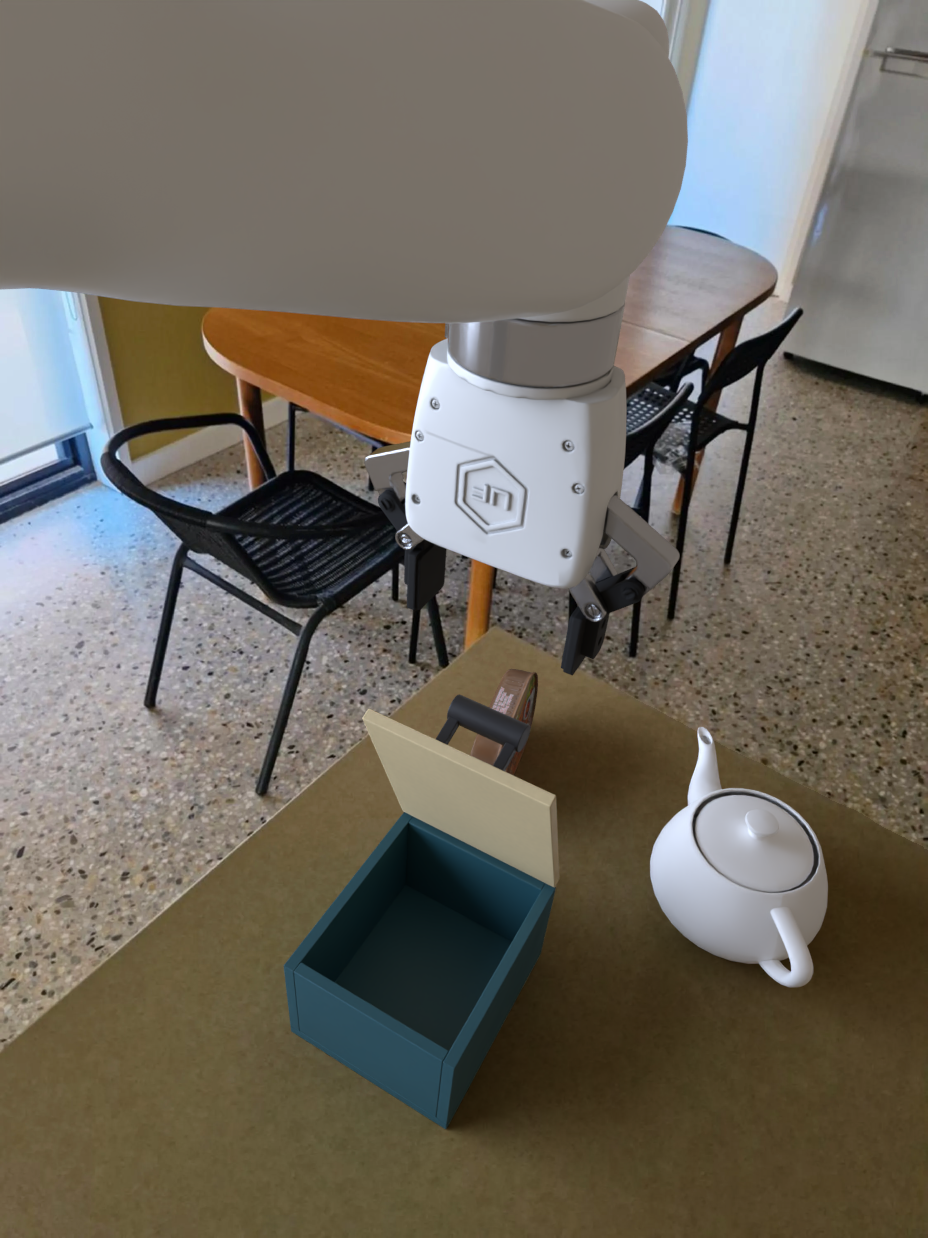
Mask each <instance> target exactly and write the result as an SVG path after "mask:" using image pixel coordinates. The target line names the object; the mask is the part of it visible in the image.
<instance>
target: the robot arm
mask: <svg viewBox="0 0 928 1238" xmlns="http://www.w3.org/2000/svg"><path fill="white" fill-rule="evenodd" d="M669 56H670V39H669V33H668V29H667V26H666V23H665V21H664V18H663V17H662V16H661V14H660V13H659V12H658V10H657V9H655V8H654V7H652V6H651V5H650V4H648V3H647V2H644V1H642V0H0V290H22V289H35V290H37V289H38V290H49V291H58V292H68V293H77V294H83V295H90V296H97V297H104V298H110V299H115V300H116V299H117V300H122V301H123V300H124V301H129V302H135V303H136V302H137V303H148V304H156V305H157V304H158V305H167V306H177V307H198V308H199V307H200V308H219V309H220V308H221V309H236V310H249V311H250V310H251V311H262V312H263V311H264V312H279V313H289V314H301V315H311V316H313V315H314V316H323V317H335V318H347V319H355V320H357V319H358V320H370V321H383V322H384V321H385V322H396V323H422V324H445V325H444V338H445V339H443V340H441V341H439V342H437V343H435V344H434V345H433V346H432V347H431V349H430V352H429V354H428V357H427V362H426V365H425V368H424V373H423V375H422V380H421V384H420V389H419V393H418V398H417V401H416V402H417V403H416V408H415V412H414V418H413V424H412V429H411V437H410V440H409V441H404V442H399V443H394V444H391V445H385V446H381V447H378V448H377V449H375V450H374V451H373V452H372V453H370V454H368V455H367V456H366V457H365V458H364V461H363V462H364V464H363V465H364V467H365V469H366V471H367V474H368V477H369V478H370V481H371V483H372V486H373V488H374V490H375V491H377V494H378V497H377V504H378V506H379V508H380V510H382V512H383V513H384V515H385V516H386V518H387V519H388V521H389V522H390V523H391V524H392V526H393V527H394V528H395V531H396V532H395V535H394V537H395V542H396V543H397V545H398V546H399V547H400V548H402V549H403V550H404V571H403V574H404V575H403V583H404V584H405V585H406V587H407V588H406V608H407V609H409V610H411V611H414V612H417V611H420V610H422V609H423V608H424V607H425V606H426V605H427V604H428V603H429V602H430V601H431V600H432V599H433V598H434V597H435V596H436V595H437V594H438V593H439V592H440V591H441V590H442V589H443V587H444V585H445V579H446V564H447V550H449V551H451V552H454V553H456V554H459V555H462V556H464V557H467V558H469V559H472V560H475V561H477V562H480V563H482V564H486V565H487V566H490V567H492V568H496V569H499V570H501V571H504V572H507V573H509V574H512V575H515V576H517V577H520V578H523V579H526V580H528V581H530V582H533V583H536V584H539V585H542V586H545V587H549V588H555V589H561V590H563V589H565V590H566V589H568V591H569V593H570V594H571V596H572V598H573V599H574V602H576V605H577V607H576V608H575V609H574V611H573V612H572V613H571V615H570V617H569V619H568V624H567V630H566V637H565V641H564V647H563V654H562V658H561V664H560V669H562V672H563V673H565V674H567V675H570V676H573V675H574V674H575V673H576V672H577V670H578V669H579V667H580V666H581V664H582V663H583V662H584V660H585V659H586V658H589V659H591V660H595V659H596V657H597V655H598V654H599V652H600V651H601V649H602V646H603V644H604V641H605V637H606V633H607V632H606V631H607V627H608V623H609V619H610V615H611V613H613V612H616V611H620V610H622V609H625V608H628V607H629V606H632V605H634V604H637V603H639V602H641V600H642V598H643V597H644V596H645V595H646V594H648V593H649V592H650V591H652V590H654V588H655V587H656V586H658V584H660V583H661V582H662V581H663V580H664V579H665V578H666V577H667V576H669V575H670V574H671V572H672V571H673V569H674V567H675V566H676V564H677V563H678V561H679V560H680V552H679V550H678V549H677V548H676V547H675V546H674V545H673V544H672V543H671V542H670V541H668V540H667V538H665V537H664V536H663V535H662V534H661V533H659V531H657V530H656V529H655V528H653V526H651V525H650V524H649V523H648V522H647V521H646V520H645V519H644V518H643V517H641V516H640V514H638V513H637V512H636V511H635V510H634V509H633V508H631V506H629V505H628V504H627V503H626V502H625V501H623V499H621V496H622V495H621V494H622V489H623V488H622V486H623V478H624V470H625V459H626V446H627V445H626V444H627V410H628V409H627V408H628V407H627V384H626V374H625V371H624V370H623V369H622V368H620V367H618V366H616V365H615V362H616V357H617V351H618V345H619V340H620V333H621V329H622V324H623V323H622V322H623V317H624V312H625V306H626V299H627V293H628V289H629V283H630V277H631V275H632V274H633V273H634V272H635V271H636V270H637V269H638V268H639V267H640V265H641V264H642V263H643V262H644V261H645V259H646V258H647V257H648V256H649V255H650V253H651V252H652V250H653V249H654V247H655V246H656V244H657V243H658V241H659V239H660V238H661V236H662V235H663V234H664V232H665V229H666V227H667V226H668V223H669V221H670V219H671V216H672V215H673V213H674V209H675V207H676V204H677V201H678V198H679V196H680V194H681V193H680V192H681V190H682V184H683V181H684V176H685V171H686V166H687V158H688V157H687V156H688V146H689V145H688V144H689V134H688V131H689V130H688V114H687V109H686V104H685V99H684V92H683V89H682V86H681V83H680V81H679V78H678V75H677V72H676V69H675V67H674V65H673V63H672V61H671V60H670V58H669ZM403 473H406V482H405V481H404V479H405V477H404V475H403ZM612 541H613V542H614V543H616V544H617V545H618V546H619V547H620V548H621V549H623V550H624V551H625V552H626V553H627V554H628V555H629V556H630V557H631V558H633V560H634V561H635V562H636V566H634V567H632V568H629V569H626V570H625V571H622V572H620V573H618V571H617V569H616V567H615V566H614V563H613V561H612V560H611V559H610V557H609V555H608V553H607V551H606V549H607V548H608V547H609V546H610V543H611V542H612Z"/></svg>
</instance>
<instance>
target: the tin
mask: <svg viewBox="0 0 928 1238" xmlns="http://www.w3.org/2000/svg"><path fill="white" fill-rule="evenodd" d="M538 692H539V675H538V672H536V671H533V672H531V671H528V670H527V671H526V670H522V669H517V668H509V669H508V670H507V671H505V673H504V674H503V676H502V677H501V680H500V682H499V684H498V686H497V688H496V690H495V692H494V695H493V697H492V698H491V701H490V703H489V705H488V707H490V708H492V709H494V710H496V711H499V712H501V713H503V714H505V715H508V716H510V717H512V718H515V719H517V720H519V721H521V722H524V723H526V724H528V725H530V727H531V728H530V731H531V729H532V726H533V721H534V716H535V711H536V706H537V699H538ZM528 739H529V738H528ZM528 739H527V742H526V744H525V746H524V747H523V749H522V750H521V751H520V752H515V754H514V756H513V758H512V760H511V761H510V763H509V765H508V767H507V769H506V770H505V772H507V773H509V774H511V775H513V776H515V774H516V771H517V769H518V767H519V764H520V761H521V758H522V756H523V754H524V751H525V748H526V746H527V743H528ZM502 748H503V745H501V744H499V743H497V742H494V741H492V740H490V739H488V738H486V737H483V736H481V735H479V734H477V733H476V735H475V738H474V740H473V744H472V747H471V751H470V754H469V755H470V756H473V757H475V758H477V759H479V760H481V761H483V762H485V763H488V764H490V765H492V766H493V764H494V762H495V761H496V759H497V757H498V755H499V754H500V752H501V750H502Z"/></svg>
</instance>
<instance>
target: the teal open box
mask: <svg viewBox="0 0 928 1238" xmlns="http://www.w3.org/2000/svg"><path fill="white" fill-rule="evenodd" d="M556 890H557V886H556V887H555V888H554V887H552V886H550V885H548V884H546V883H544V882H542V881H540V880H538V879H536V878H534V877H532V876H530V875H528V874H526V873H524V872H522V871H520V870H518V869H516V868H514V867H512V866H510V865H508V864H506V863H504V862H502V861H500V860H498V859H496V858H494V857H493V856H491V855H489V854H487V853H485V852H483V851H481V850H479V849H477V848H475V847H473V846H471V845H469V844H467V843H465V842H463V841H461V840H459V839H457V838H455V837H453V836H451V835H449V834H447V833H445V832H443V831H441V830H439V829H437V828H435V827H433V826H431V825H429V824H427V823H425V822H423V821H421V820H419V819H417V818H415V817H413V816H411V815H409V814H407V813H405V812H402V814H401V815H400V816H399V818H398V819H397V820H396V821H395V822H394V823H393V825H392V826H391V828H390V829H389V830H388V832H387V833H386V834H385V836H384V837H383V838H382V839H381V840H380V841H379V843H378V844H377V846H375V848H374V849H373V851H372V852H371V853H370V855H369V856H368V857H367V858H366V860H365V861H364V862H363V864H362V865H361V866H360V868H358V870H357V871H356V872H355V874H354V875H353V876H352V878H351V879H350V880H349V881H348V882H347V884H346V885H345V886H344V887H343V889H342V890H341V892H340V893H339V894H338V896H337V897H336V898H335V899H334V901H333V902H331V904H330V906H329V907H328V908H327V910H326V911H324V913H323V914H322V916H321V917H320V918H319V920H318V921H317V922H316V923H315V925H314V926H313V927H312V929H311V930H310V931H309V932H308V933H307V935H306V936H305V937H304V939H303V940H302V941H301V943H300V944H299V945H298V946H297V948H296V949H295V950H294V951H293V953H292V954H291V955H290V956H289V958H288V959H287V960H286V962H284V964H283V973H284V982H285V990H286V999H287V1006H288V1016H289V1024H290V1032H292V1033H293V1034H295V1035H296V1036H298V1037H300V1038H301V1039H302V1040H304V1041H306V1042H307V1043H309V1044H311V1045H312V1046H314V1047H315V1048H317V1049H319V1050H320V1051H321V1052H323V1053H324V1054H326V1055H328V1056H330V1057H331V1058H332V1059H334V1060H335V1061H337V1062H339V1063H340V1064H342V1065H343V1066H345V1067H347V1068H348V1069H349V1070H351V1071H353V1072H355V1073H356V1074H358V1075H359V1076H361V1077H362V1078H364V1080H365V1079H366V1080H367V1081H369V1082H370V1083H372V1084H373V1085H375V1086H376V1087H377V1088H379V1089H381V1090H383V1091H384V1092H386V1093H387V1094H389V1095H390V1096H391V1097H394V1098H395V1099H396V1100H399V1101H400V1102H401V1103H403V1104H405V1105H406V1106H408V1107H409V1108H411V1109H413V1110H414V1111H416V1112H417V1113H419V1114H420V1115H422V1116H423V1117H425V1118H427V1119H428V1120H430V1121H431V1122H433V1123H435V1124H436V1125H437V1126H439V1127H441V1128H442V1129H444V1130H447V1129H448V1127H449V1125H450V1123H451V1122H452V1120H453V1119H454V1116H455V1114H456V1112H457V1110H458V1109H459V1107H460V1105H461V1103H462V1101H463V1099H464V1098H465V1096H466V1094H467V1092H468V1090H469V1088H470V1087H471V1085H472V1083H473V1081H474V1079H475V1077H476V1075H477V1073H478V1072H479V1070H480V1068H481V1067H482V1064H483V1062H484V1060H485V1059H486V1057H487V1055H488V1053H489V1051H490V1049H491V1048H492V1046H493V1043H494V1041H496V1038H497V1036H498V1034H499V1032H500V1031H501V1029H502V1027H503V1025H504V1023H505V1022H506V1019H508V1016H509V1014H510V1012H511V1011H512V1008H513V1007H514V1005H515V1003H516V1001H517V999H518V997H519V995H520V994H521V992H522V991H523V988H524V986H525V984H526V982H527V981H528V979H529V977H530V975H531V973H532V971H533V969H534V967H535V966H536V964H537V962H538V960H539V958H540V956H541V955H542V951H543V945H544V942H545V938H546V933H547V928H548V924H549V920H550V916H551V913H552V912H551V911H552V907H553V903H554V898H555V894H556Z"/></svg>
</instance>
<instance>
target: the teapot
mask: <svg viewBox="0 0 928 1238" xmlns="http://www.w3.org/2000/svg"><path fill="white" fill-rule="evenodd" d="M696 732H697V742H698V754H697V755H698V757H697V760H696V765H695V768H694V771H693V773H692V776H691V779H690V782H689V786H688V791H687V806H685V807H683V808H682V809H681V810H680V811H678V812H677V813H676V814H675V815H673V817H671V819H670V820H669V821H668V822H667V823H666V824H665V825H664V826H663V827H662V829H661V830H660V833H659V834H658V835H657V838H656V840H655V842H654V844H653V847H652V851H651V855H650V859H649V876H650V881H651V882H650V883H651V885H652V890H653V893H654V896H655V898H656V900H657V902H658V905H659V907H660V909H661V911H662V913H664V915H665V917H666V918H667V919H668V920H669V922H670V923H671V925H673V927H674V928H676V930H678V931H679V933H680V934H682V936H683V937H684V938H686V939H687V940H689V941H690V942H691V943H692V944H694V945H695V946H697V947H698V948H700V949H702V950H703V951H706V952H707V953H709V954H711V955H713V956H716V957H719V958H722V959H725V960H727V961H731V962H736V963H741V964H746V965H755V964H756V965H759V966H760V967H761V968H762V970H764V972H765V973H766V974H767V975H768V976H769V977H770V978H771V979H773V981H775V982H776V983H778V984H780V985H781V986H784V987H786V988H801V987H803V986H806V985H807V984H808V983H809V982H810V981H811V980H812V978H813V975H814V963H813V959H812V956H811V953H810V950H809V947H808V945H809V944H811V943H812V942H813V941H814V939H815V937H816V936H817V934H819V931H820V930H821V928H822V925H823V922H824V919H825V916H826V913H827V909H828V895H829V883H828V875H827V874H828V873H827V869H826V865H825V864H826V863H825V858H824V854H823V850H822V846H821V843H820V841H819V839H818V837H817V835H816V833H815V831H814V830H813V828H812V827H811V825H810V824H809V823H808V821H806V819H805V818H804V817H803V816H802V815H801V814H800V813H799V812H798V811H796V810H795V809H794V808H793V807H792V806H790V805H789V804H787V803H786V802H784V801H783V800H781V799H779V798H777V797H775V796H773V795H770V794H768V793H765V792H762V791H760V790H756V789H751V788H750V789H749V788H745V787H744V788H743V787H728V788H722V784H721V780H720V773H719V766H718V758H717V751H716V750H717V749H716V745H715V744H716V743H715V741H714V738H713V736H712V734H711V732H710V731H709V730H708V729H707V728H706V727H704V726H699V727H698V728H697V731H696ZM787 959H789V962H790V970H789V969H788V968H787V967H786V966H785V965H783V963H782V962H781V961H784V960H787Z"/></svg>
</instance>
